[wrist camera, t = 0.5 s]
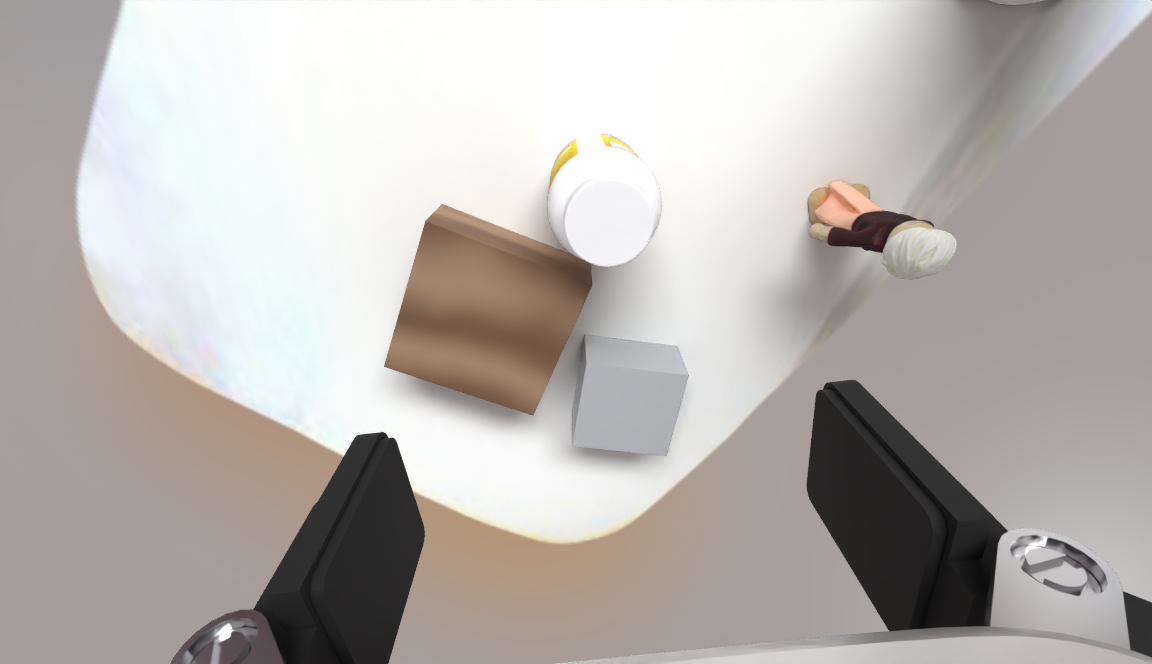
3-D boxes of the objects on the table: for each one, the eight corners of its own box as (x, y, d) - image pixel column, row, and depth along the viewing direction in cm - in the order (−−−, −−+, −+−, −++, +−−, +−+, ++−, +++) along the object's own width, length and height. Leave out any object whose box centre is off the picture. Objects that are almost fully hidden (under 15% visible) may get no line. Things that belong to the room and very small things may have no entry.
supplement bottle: (559, 230, 40) (554, 293, 28) (543, 139, 37) (531, 168, 25) (645, 217, 39) (677, 275, 28) (637, 124, 36) (668, 146, 25)
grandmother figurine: (882, 165, 38) (1016, 204, 27) (882, 216, 40) (1007, 272, 28) (776, 192, 39) (862, 240, 27) (780, 240, 40) (862, 305, 29)
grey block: (584, 333, 44) (586, 363, 40) (676, 345, 45) (688, 375, 40) (571, 411, 47) (572, 446, 43) (657, 420, 48) (666, 456, 44)
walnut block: (442, 204, 39) (425, 221, 34) (589, 261, 41) (592, 284, 36) (403, 336, 44) (384, 366, 39) (536, 382, 46) (533, 415, 41)
